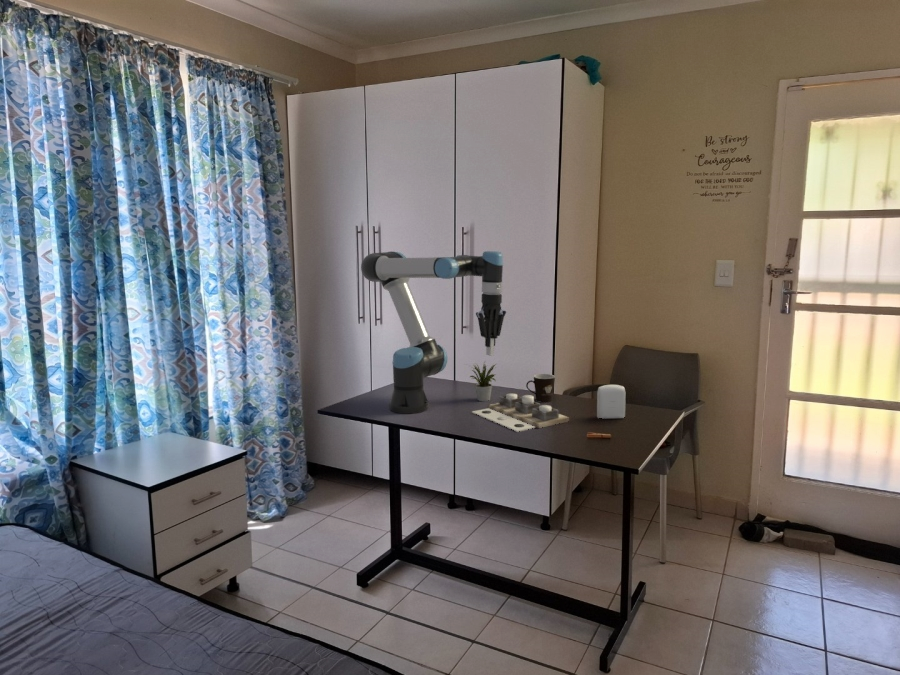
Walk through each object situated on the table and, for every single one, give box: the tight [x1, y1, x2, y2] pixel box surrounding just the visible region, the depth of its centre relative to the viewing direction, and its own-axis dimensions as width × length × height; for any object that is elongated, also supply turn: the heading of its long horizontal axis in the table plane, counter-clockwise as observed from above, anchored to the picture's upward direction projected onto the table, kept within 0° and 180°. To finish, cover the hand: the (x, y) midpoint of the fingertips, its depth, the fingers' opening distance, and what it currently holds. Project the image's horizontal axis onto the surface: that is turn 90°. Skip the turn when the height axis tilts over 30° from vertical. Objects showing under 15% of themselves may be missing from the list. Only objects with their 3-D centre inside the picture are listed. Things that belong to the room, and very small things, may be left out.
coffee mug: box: [525, 373, 556, 403], centre depth 258 cm, size 12×9×10 cm
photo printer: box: [596, 384, 626, 419], centre depth 233 cm, size 10×4×12 cm, turn 89°
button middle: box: [521, 394, 535, 406], centre depth 238 cm, size 4×4×4 cm
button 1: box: [505, 392, 518, 400], centre depth 247 cm, size 4×4×4 cm
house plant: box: [464, 361, 498, 402], centre depth 258 cm, size 14×14×16 cm
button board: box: [489, 395, 570, 429], centre depth 239 cm, size 30×14×4 cm, turn 32°
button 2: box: [539, 404, 553, 412], centre depth 230 cm, size 4×4×4 cm
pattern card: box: [471, 407, 536, 433], centre depth 233 cm, size 28×8×1 cm, turn 32°
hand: (489, 354), depth 241 cm, fingers closed
